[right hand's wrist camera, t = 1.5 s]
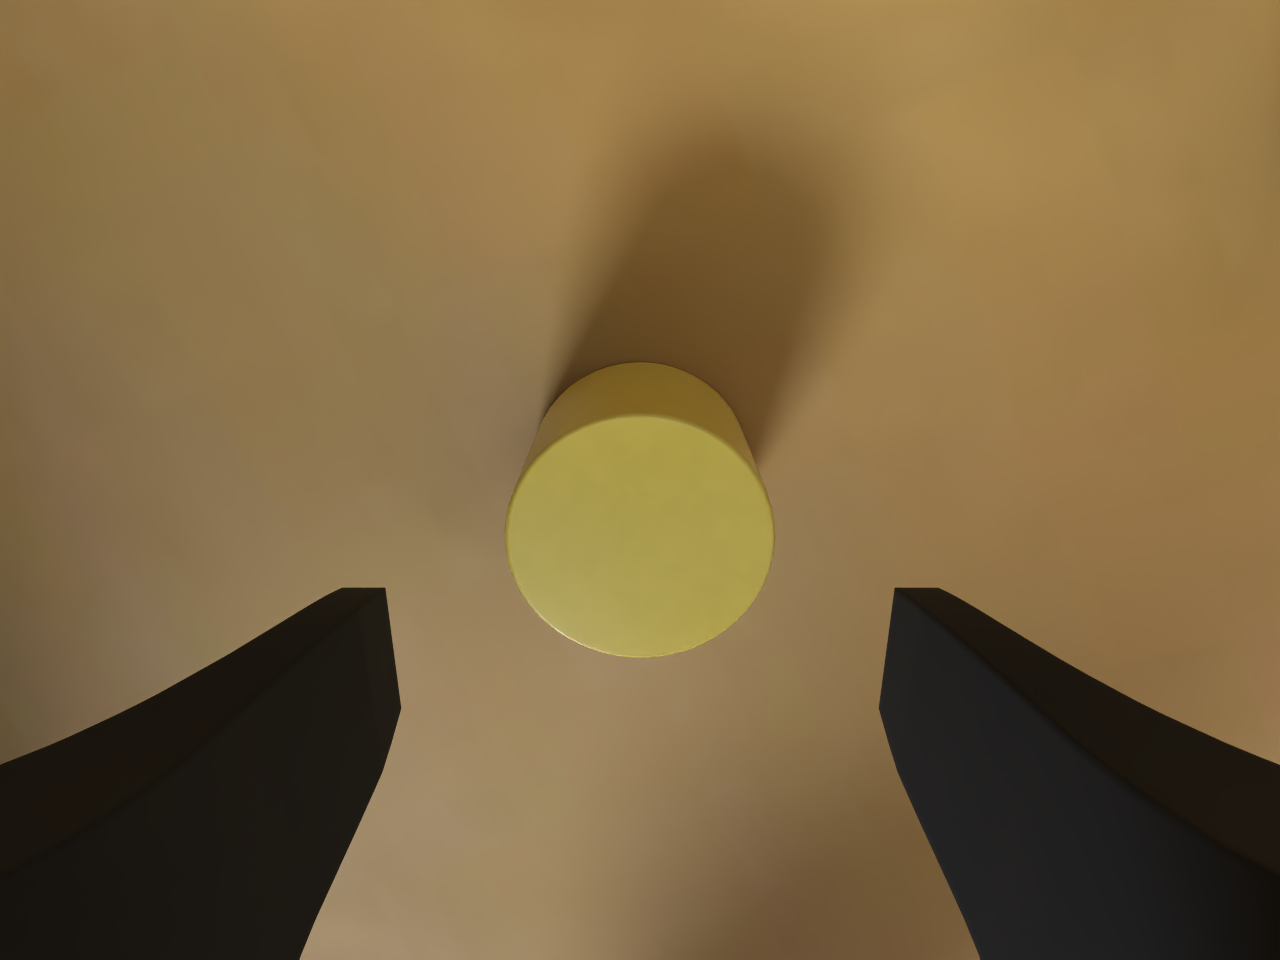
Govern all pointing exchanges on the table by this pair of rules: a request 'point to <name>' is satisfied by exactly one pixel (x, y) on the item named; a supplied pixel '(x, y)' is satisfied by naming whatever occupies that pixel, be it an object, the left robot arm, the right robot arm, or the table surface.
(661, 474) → the yellow cylinder
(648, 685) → the table surface
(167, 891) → the right robot arm
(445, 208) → the table surface
